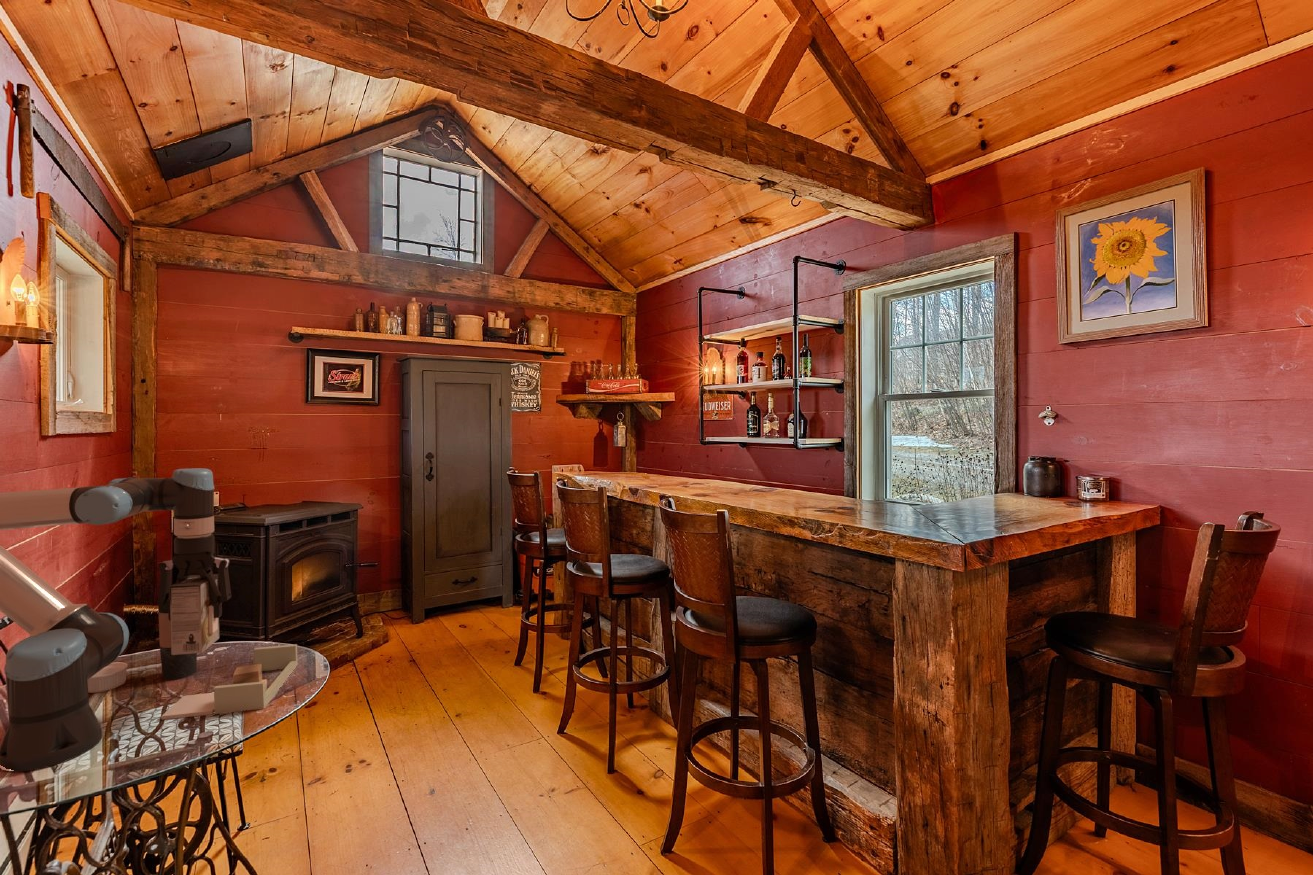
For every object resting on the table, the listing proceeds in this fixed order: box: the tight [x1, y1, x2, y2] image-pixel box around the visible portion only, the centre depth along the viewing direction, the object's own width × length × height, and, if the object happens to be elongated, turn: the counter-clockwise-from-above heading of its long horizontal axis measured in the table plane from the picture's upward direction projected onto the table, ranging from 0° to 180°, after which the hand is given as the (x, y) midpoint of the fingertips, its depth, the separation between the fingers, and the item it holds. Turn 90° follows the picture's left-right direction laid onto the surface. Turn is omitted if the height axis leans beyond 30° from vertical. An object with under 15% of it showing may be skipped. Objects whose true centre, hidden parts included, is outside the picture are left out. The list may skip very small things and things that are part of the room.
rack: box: [213, 643, 299, 715], centre depth 153 cm, size 10×24×6 cm, turn 14°
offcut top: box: [232, 664, 263, 684], centre depth 146 cm, size 5×5×4 cm
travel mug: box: [157, 598, 198, 681], centre depth 161 cm, size 8×8×20 cm
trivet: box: [160, 692, 215, 720], centre depth 144 cm, size 10×10×1 cm
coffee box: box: [170, 573, 220, 655], centre depth 143 cm, size 9×6×16 cm
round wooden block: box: [88, 661, 129, 694], centre depth 155 cm, size 9×9×4 cm
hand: (195, 632), depth 144 cm, fingers closed on coffee box, 6 cm apart
